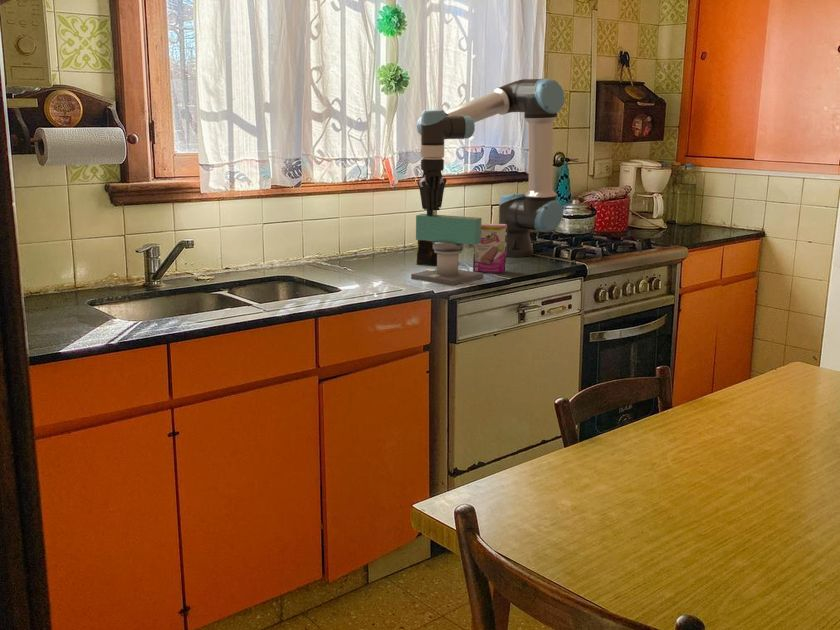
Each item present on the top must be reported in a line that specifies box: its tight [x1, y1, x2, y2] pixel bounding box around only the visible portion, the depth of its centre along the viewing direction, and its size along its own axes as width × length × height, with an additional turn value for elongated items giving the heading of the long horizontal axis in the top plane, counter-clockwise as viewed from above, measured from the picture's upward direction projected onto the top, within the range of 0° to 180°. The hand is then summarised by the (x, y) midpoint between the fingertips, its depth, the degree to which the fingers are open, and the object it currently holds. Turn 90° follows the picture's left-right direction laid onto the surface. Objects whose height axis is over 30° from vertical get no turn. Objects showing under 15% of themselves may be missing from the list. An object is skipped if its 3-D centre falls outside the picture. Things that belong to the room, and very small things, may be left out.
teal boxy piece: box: [415, 213, 482, 251], centre depth 275 cm, size 10×21×10 cm, turn 64°
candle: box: [416, 240, 437, 267], centre depth 303 cm, size 10×10×10 cm
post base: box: [410, 250, 484, 287], centre depth 277 cm, size 17×17×10 cm
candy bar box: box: [472, 222, 507, 274], centre depth 287 cm, size 11×5×16 cm, turn 84°
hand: (431, 229), depth 282 cm, fingers closed
